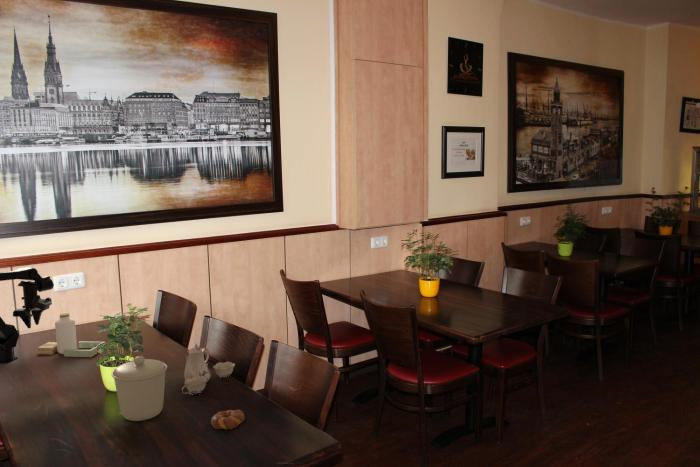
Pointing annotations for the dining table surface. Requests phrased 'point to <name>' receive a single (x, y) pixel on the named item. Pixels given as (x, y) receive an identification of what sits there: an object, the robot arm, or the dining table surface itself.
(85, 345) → the tray frame
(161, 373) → the canister
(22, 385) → the dining table surface
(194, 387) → the chinaware
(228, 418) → the braided ring pastry
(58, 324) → the potion bottle
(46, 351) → the oak block
